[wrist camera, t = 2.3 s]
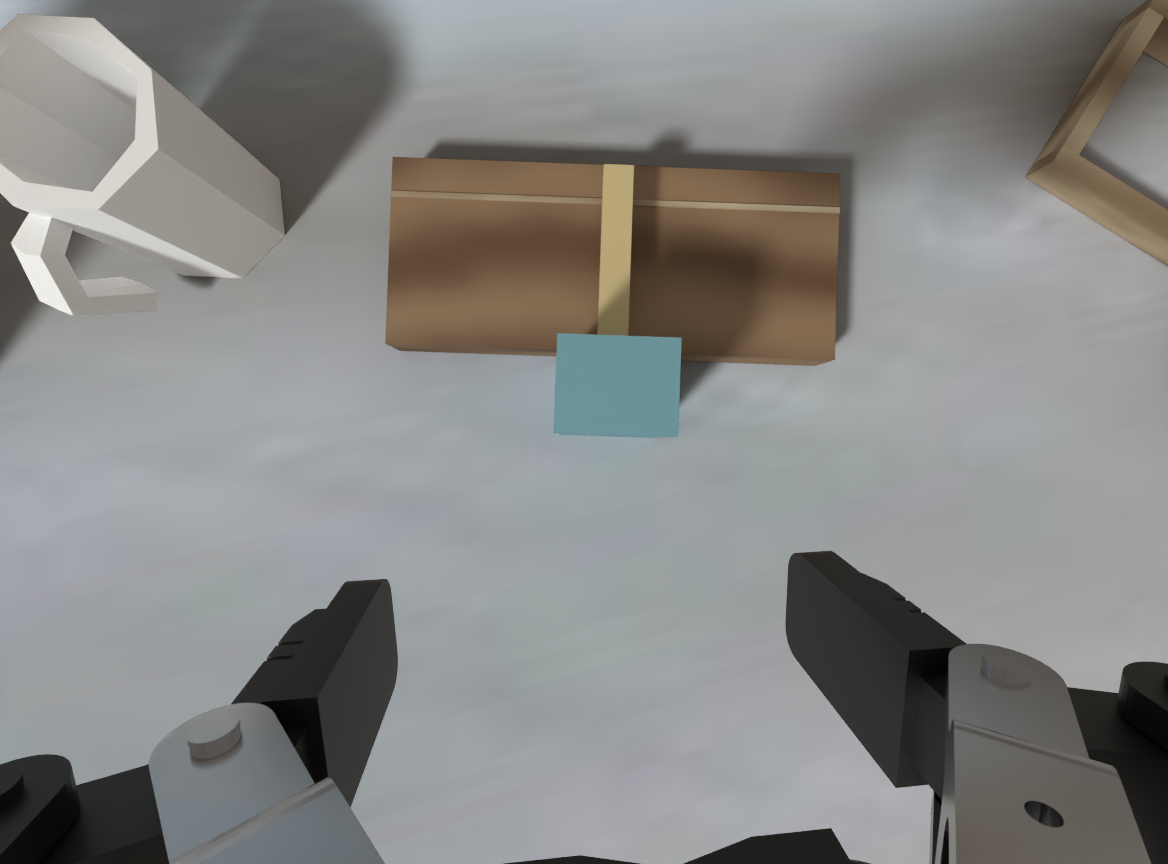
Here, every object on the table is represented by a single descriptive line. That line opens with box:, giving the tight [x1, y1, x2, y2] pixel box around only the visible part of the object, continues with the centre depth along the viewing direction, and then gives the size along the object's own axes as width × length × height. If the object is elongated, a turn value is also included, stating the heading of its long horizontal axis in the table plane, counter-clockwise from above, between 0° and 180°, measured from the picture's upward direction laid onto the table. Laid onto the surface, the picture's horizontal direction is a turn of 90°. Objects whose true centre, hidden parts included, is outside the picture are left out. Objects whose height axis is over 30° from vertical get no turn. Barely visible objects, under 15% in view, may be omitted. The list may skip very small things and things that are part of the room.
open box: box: [385, 157, 840, 366], centre depth 32 cm, size 10×24×3 cm, turn 88°
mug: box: [0, 14, 285, 316], centre depth 28 cm, size 12×9×10 cm
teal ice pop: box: [554, 164, 682, 438], centre depth 28 cm, size 14×5×10 cm, turn 178°
